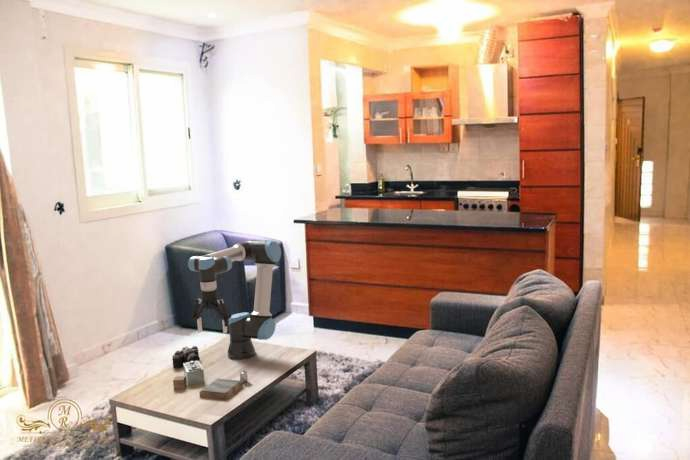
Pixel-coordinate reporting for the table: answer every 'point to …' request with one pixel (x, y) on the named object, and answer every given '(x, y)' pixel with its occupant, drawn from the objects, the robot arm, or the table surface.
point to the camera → (185, 356)
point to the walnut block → (179, 382)
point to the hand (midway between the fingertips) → (212, 332)
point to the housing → (193, 372)
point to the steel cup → (243, 377)
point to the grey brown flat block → (221, 389)
